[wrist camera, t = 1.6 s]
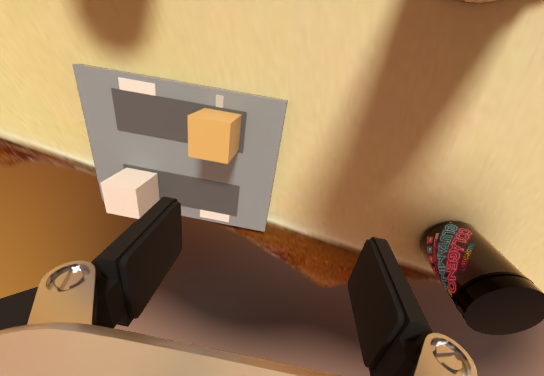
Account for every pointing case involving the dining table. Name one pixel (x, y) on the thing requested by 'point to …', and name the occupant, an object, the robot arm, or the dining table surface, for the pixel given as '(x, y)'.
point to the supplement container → (481, 280)
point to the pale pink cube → (130, 192)
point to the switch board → (182, 142)
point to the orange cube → (213, 135)
